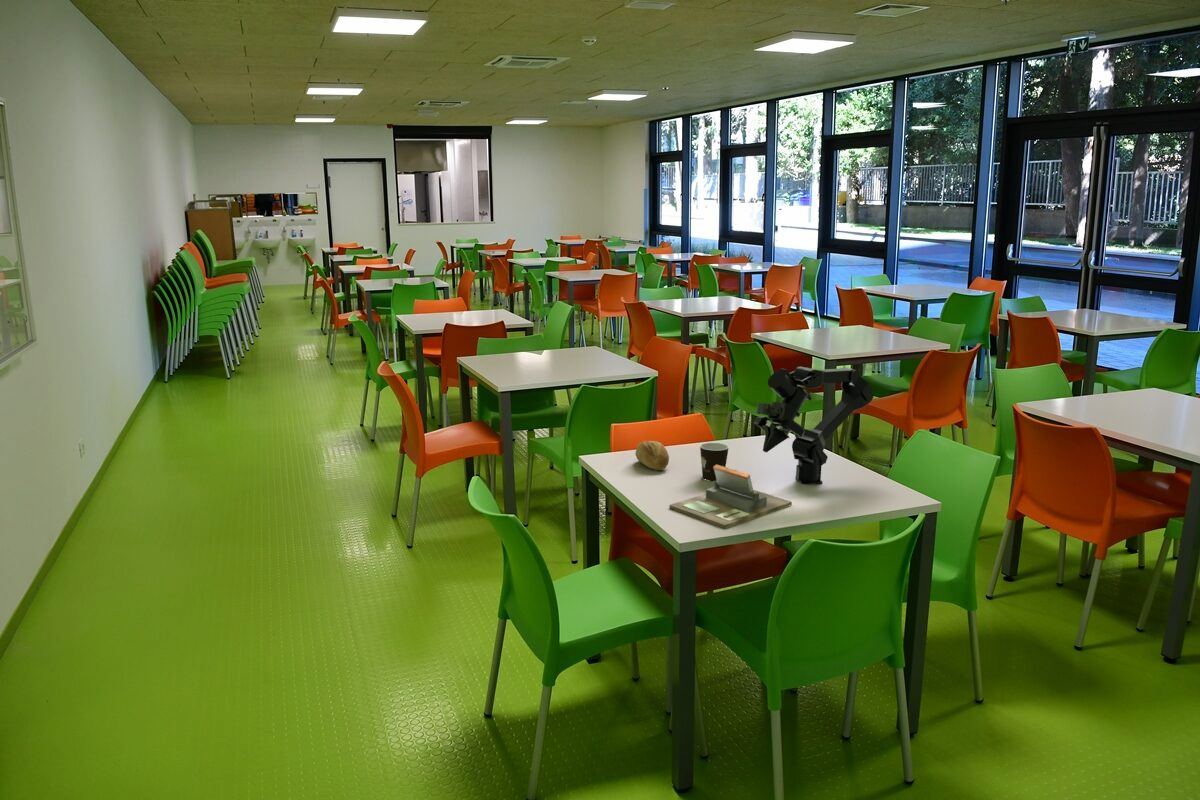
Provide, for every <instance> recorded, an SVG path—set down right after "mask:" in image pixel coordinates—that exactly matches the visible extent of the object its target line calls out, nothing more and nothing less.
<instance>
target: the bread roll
mask: <svg viewBox="0 0 1200 800" xmlns="http://www.w3.org/2000/svg"><path fill="white" fill-rule="evenodd" d="M634 454H635V457H636V459H637V460H638V462H639V463H641V464H642V465H644V466H645V467H647V468H649V469H651V470H655V471H662V470H665V469H666V468H667V467H668V465H669V462H670V455H669V452H668V450H667V448H666V447H665V446H664V445H663V444H662V443H661V442H659V441H656V440H649V441H648V440H644V441H641V442H640V443H638V445H637V447H636V449H635V453H634Z"/></svg>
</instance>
